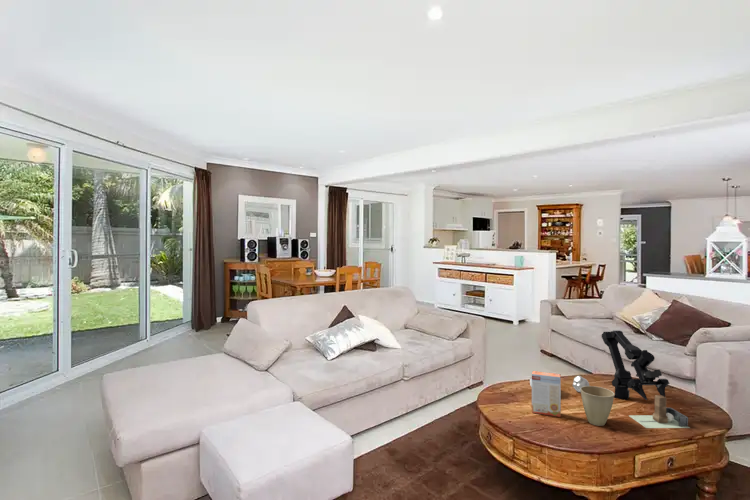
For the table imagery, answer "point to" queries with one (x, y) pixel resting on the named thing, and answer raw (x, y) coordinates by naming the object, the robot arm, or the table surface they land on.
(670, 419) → the ball
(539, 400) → the cracker box
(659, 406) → the block
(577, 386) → the shiny silver sphere
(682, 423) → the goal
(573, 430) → the table surface
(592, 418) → the plant pot
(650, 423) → the pitch
